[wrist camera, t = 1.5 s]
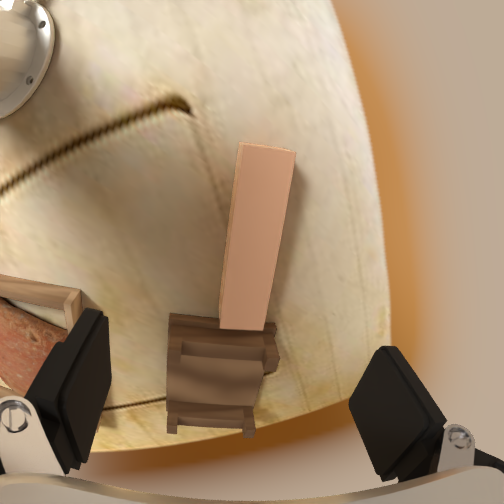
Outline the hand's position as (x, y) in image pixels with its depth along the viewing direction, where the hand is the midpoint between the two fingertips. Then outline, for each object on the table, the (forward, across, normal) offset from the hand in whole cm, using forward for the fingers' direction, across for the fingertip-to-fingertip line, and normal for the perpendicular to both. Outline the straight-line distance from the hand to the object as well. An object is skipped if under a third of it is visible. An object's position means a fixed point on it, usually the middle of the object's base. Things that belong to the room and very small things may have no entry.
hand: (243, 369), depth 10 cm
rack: (+20, -2, +18) cm, 27 cm away
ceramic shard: (+20, +24, +21) cm, 37 cm away
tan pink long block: (+20, -2, +1) cm, 20 cm away
